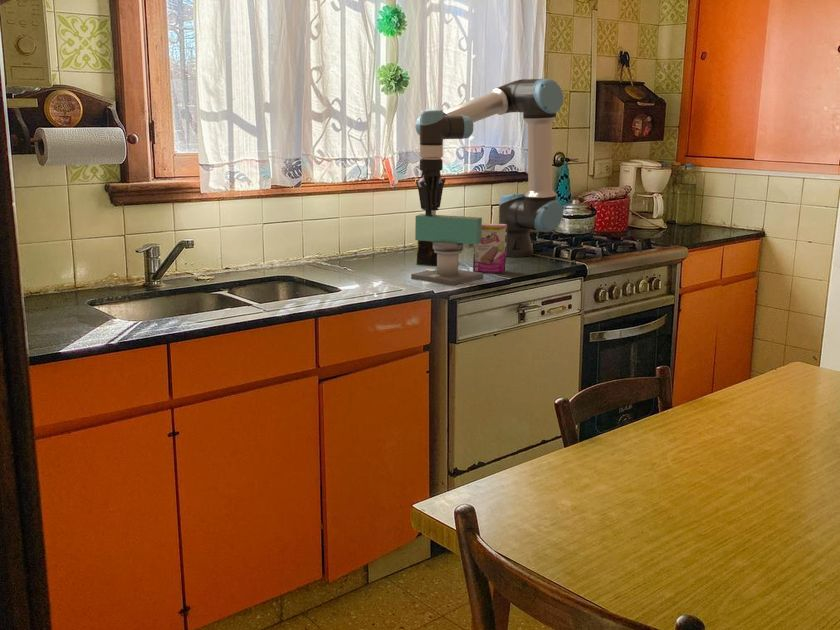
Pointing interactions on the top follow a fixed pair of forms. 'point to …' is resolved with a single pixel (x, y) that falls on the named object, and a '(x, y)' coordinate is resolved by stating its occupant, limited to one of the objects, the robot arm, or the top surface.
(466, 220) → the teal boxy piece
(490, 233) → the candy bar box
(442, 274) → the post base
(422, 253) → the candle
